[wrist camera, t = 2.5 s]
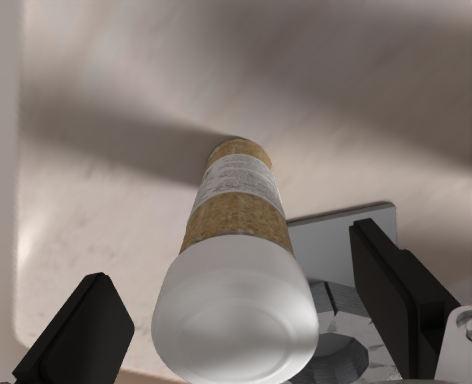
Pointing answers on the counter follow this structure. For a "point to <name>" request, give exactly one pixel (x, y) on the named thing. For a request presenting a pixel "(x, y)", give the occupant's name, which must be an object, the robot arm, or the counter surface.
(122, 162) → the counter surface
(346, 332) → the ring seat
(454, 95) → the counter surface
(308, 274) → the mat
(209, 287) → the spice jar
